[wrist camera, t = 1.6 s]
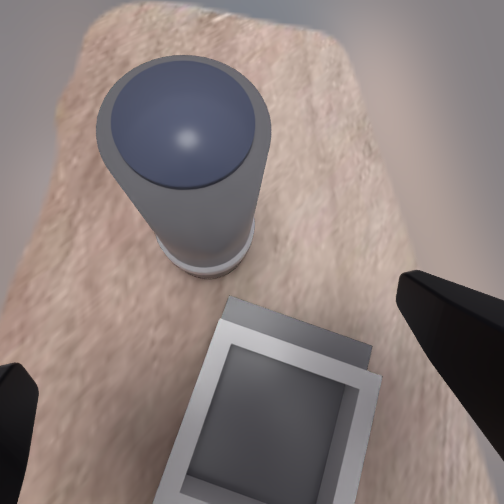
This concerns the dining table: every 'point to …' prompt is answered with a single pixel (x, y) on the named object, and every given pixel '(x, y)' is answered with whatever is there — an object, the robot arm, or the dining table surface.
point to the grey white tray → (273, 415)
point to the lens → (189, 156)
